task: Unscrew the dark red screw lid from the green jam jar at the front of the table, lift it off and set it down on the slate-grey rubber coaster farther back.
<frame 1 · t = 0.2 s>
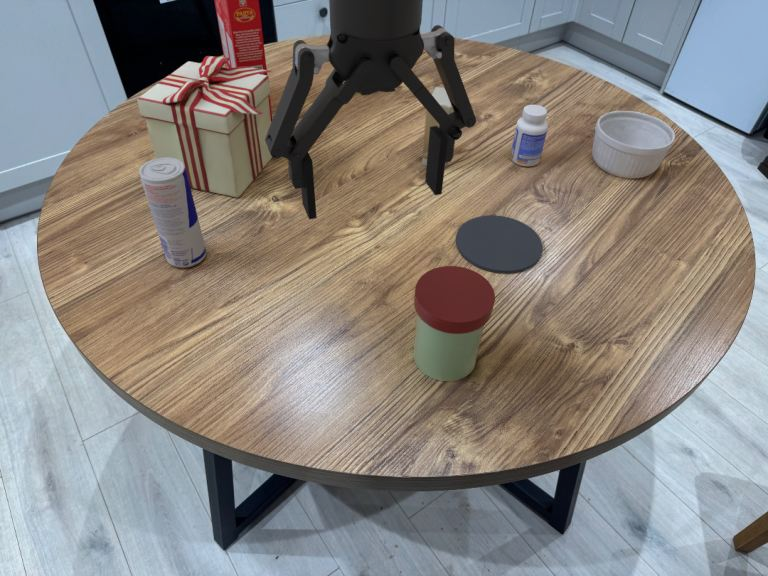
hand: (373, 199, 59), 20 cm above the table, tool pointing down, fingers open, 13 cm apart
cosmetic box: (436, 160, 103), on the table
gift box: (229, 168, 99), on the table
ramekin: (622, 163, 104), on the table
food packaging: (250, 107, 115), on the table
beverage can: (187, 257, 82), on the table
jar: (444, 355, 71), on the table
coaster: (498, 244, 86), on the table
lid: (454, 295, 63), point 11 cm above the table, screwed on, not yet turned
pill bottle: (524, 160, 104), on the table
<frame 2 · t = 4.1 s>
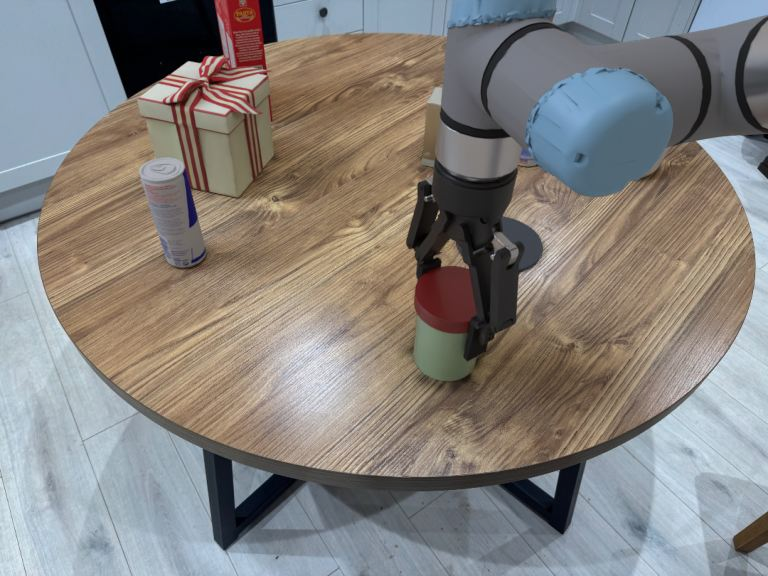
hand: (449, 327, 67), 5 cm above the table, tool pointing down, fingers closed on lid, 9 cm apart
lid: (454, 295, 63), point 11 cm above the table, screwed on, not yet turned, touching gripper
everything else where it was.
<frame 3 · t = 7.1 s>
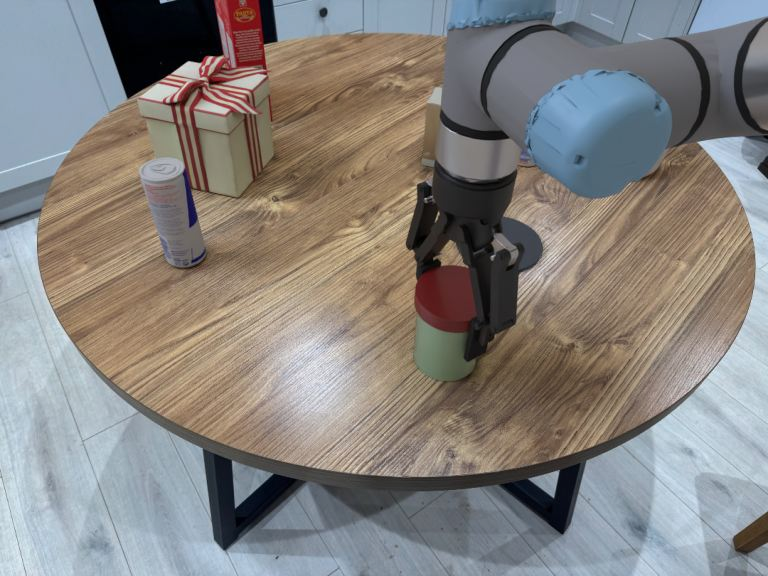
hand: (449, 328, 67), 5 cm above the table, tool pointing down, fingers closed on lid, 9 cm apart
lid: (454, 294, 63), point 11 cm above the table, turned 94° so far, risen 0.1 cm, still on its thread, touching gripper
everything else where it was.
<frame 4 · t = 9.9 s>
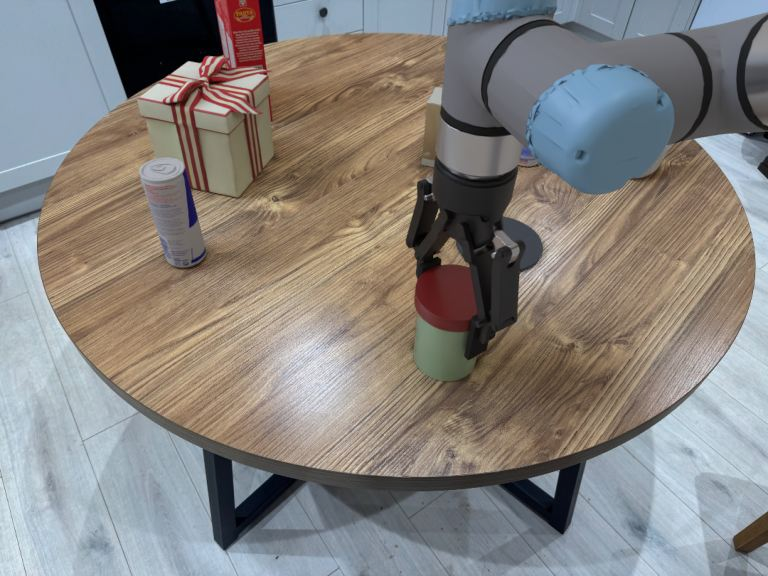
hand: (449, 326, 67), 5 cm above the table, tool pointing down, fingers closed on lid, 9 cm apart
lid: (454, 293, 63), point 11 cm above the table, turned 188° so far, risen 0.3 cm, still on its thread, touching gripper
everything else where it was.
when the fingers open (3 cm above the table, at t = 22.0 s): lid drops 6 cm, resting on coaster.
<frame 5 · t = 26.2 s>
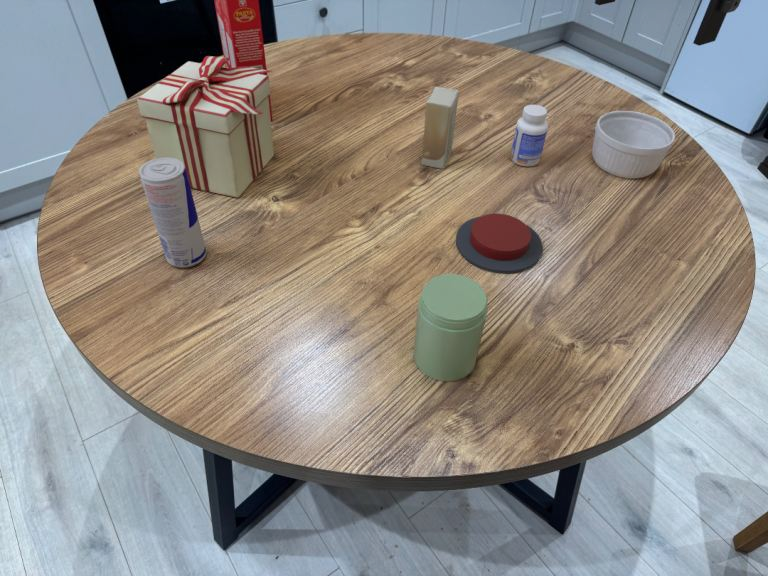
hand: (651, 21, 64), 33 cm above the table, tool pointing down, fingers open, 13 cm apart
lid: (500, 233, 85), point 2 cm above the table, off its thread, touching coaster
everything else where it was.
at the end: lid came off its thread; lid inside the target area on the coaster (0.0 cm from its centre), point 2.1 cm above the coaster's base; the gripper is holding nothing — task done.
